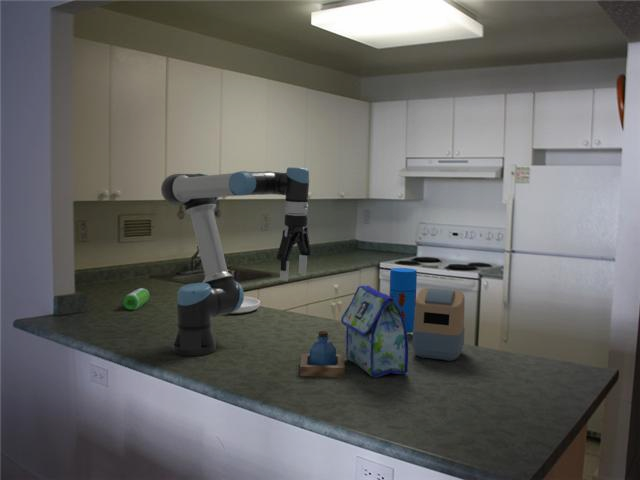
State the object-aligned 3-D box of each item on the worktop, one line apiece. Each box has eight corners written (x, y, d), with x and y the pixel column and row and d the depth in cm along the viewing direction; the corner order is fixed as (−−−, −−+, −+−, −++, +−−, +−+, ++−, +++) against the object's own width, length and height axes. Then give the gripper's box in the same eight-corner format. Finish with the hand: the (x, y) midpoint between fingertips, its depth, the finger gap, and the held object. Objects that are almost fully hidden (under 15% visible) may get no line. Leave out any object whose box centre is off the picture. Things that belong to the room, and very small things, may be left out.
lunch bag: (337, 359, 208) (339, 285, 206) (381, 355, 214) (383, 282, 211) (364, 381, 188) (367, 298, 185) (412, 375, 194) (415, 295, 191)
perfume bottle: (309, 369, 197) (310, 332, 196) (319, 364, 202) (320, 329, 201) (325, 372, 194) (326, 336, 192) (335, 367, 199) (336, 332, 198)
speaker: (135, 302, 292) (135, 287, 292) (150, 302, 292) (150, 287, 291) (122, 310, 275) (122, 294, 274) (138, 311, 275) (137, 294, 274)
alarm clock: (409, 358, 211) (412, 293, 209) (419, 346, 227) (421, 285, 224) (458, 364, 206) (461, 297, 203) (464, 351, 221) (467, 288, 219)
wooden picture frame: (300, 375, 191) (300, 366, 191) (302, 362, 205) (302, 353, 205) (344, 377, 191) (344, 367, 191) (343, 363, 205) (343, 354, 205)
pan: (231, 318, 264) (231, 304, 263) (168, 303, 291) (168, 290, 290) (271, 309, 283) (271, 296, 283) (209, 296, 311) (209, 284, 310)
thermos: (413, 333, 244) (416, 272, 241) (387, 332, 246) (389, 271, 243) (415, 327, 254) (417, 268, 252) (389, 325, 257) (391, 267, 254)
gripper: (288, 217, 188) (286, 284, 191) (321, 212, 211) (319, 272, 214) (267, 215, 191) (265, 281, 194) (302, 211, 214) (299, 270, 217)
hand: (293, 277), depth 204 cm, fingers open, 13 cm apart
